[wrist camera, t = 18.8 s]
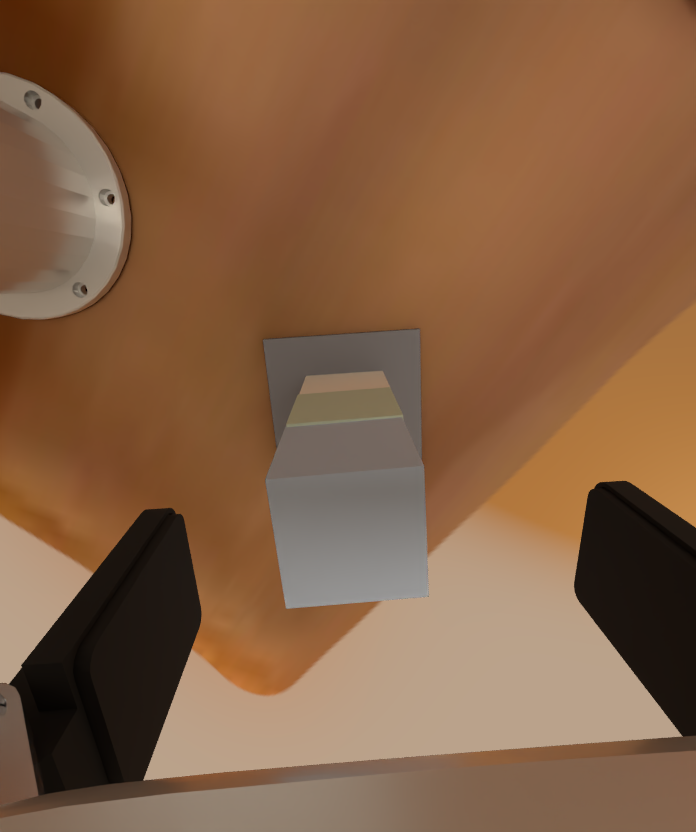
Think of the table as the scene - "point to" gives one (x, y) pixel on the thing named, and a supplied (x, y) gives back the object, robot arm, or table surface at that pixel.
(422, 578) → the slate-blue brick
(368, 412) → the pale green cube
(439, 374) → the table surface
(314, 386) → the beige cube
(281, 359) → the mat
